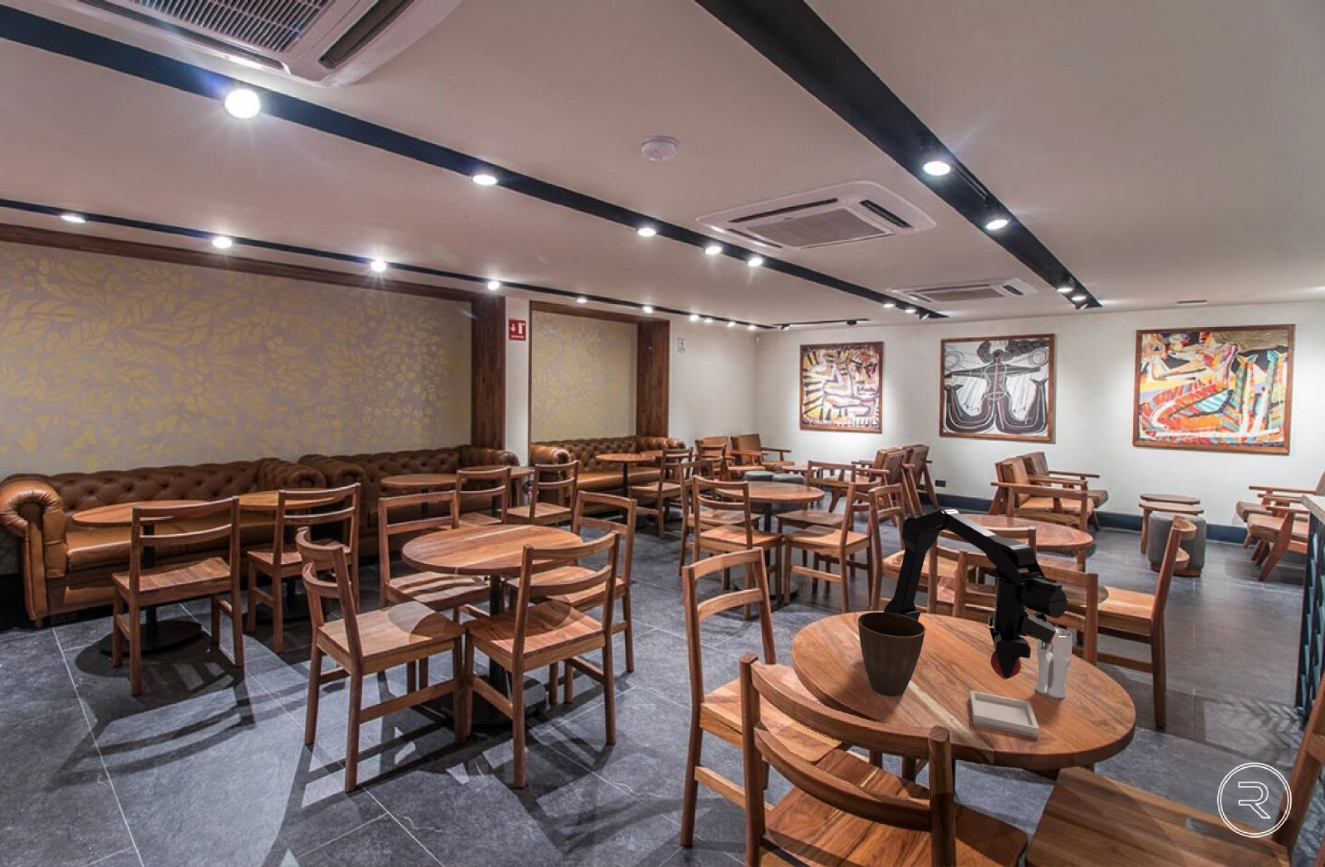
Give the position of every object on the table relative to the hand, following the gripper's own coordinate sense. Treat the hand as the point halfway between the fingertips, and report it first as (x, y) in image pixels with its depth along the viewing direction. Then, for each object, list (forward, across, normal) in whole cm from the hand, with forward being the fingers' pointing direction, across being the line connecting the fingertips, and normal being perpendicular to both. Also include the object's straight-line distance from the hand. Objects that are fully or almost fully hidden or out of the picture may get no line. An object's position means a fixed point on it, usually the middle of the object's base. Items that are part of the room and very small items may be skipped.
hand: (1004, 671), depth 136 cm
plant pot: (+11, +2, +24) cm, 26 cm away
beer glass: (+10, +18, -12) cm, 24 cm away
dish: (+10, 0, 0) cm, 10 cm away
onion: (+2, 0, 0) cm, 2 cm away
